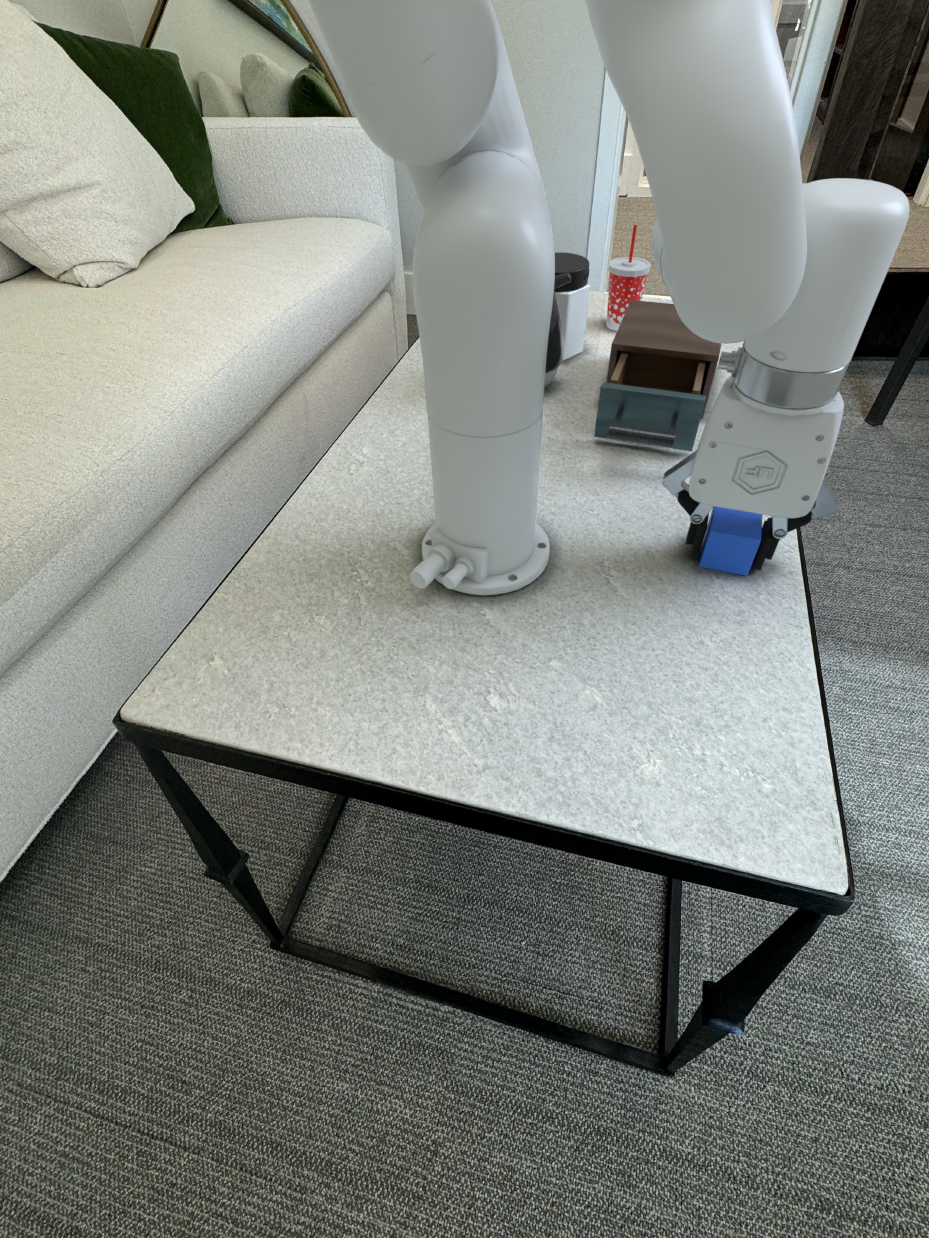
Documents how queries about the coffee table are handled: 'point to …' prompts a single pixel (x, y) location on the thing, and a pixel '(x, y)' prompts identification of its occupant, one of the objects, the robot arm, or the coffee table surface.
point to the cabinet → (662, 339)
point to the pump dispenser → (555, 334)
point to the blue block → (731, 540)
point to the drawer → (652, 401)
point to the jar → (572, 301)
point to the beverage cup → (625, 284)
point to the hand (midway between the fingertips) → (725, 553)
